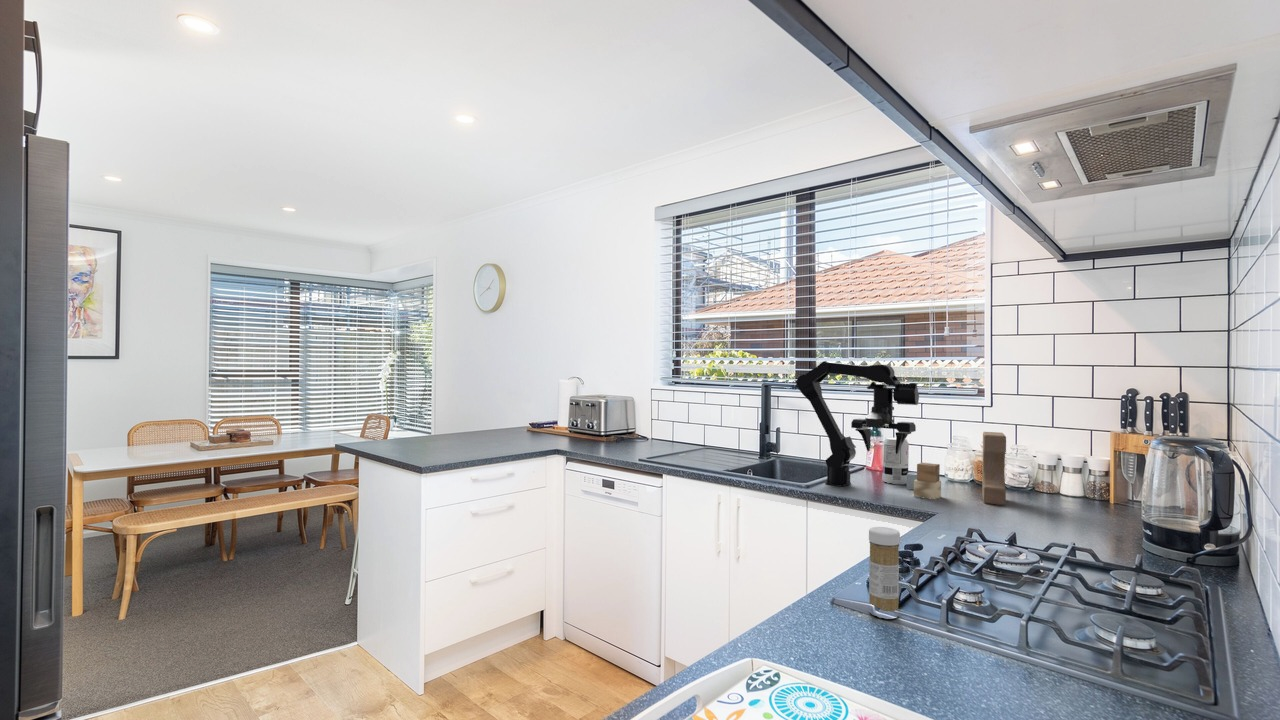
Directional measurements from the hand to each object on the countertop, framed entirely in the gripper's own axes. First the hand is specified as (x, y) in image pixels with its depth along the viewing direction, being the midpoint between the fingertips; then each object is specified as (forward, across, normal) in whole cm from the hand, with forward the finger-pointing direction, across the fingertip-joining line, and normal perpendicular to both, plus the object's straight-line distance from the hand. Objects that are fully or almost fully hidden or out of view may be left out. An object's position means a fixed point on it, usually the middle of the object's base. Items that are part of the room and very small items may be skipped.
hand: (882, 452), depth 198 cm
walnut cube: (+7, +14, 0) cm, 16 cm away
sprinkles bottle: (+12, +41, -100) cm, 109 cm away
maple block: (+12, +14, 0) cm, 18 cm away
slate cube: (+12, +7, +10) cm, 17 cm away
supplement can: (+12, -2, +16) cm, 20 cm away
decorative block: (+12, +30, +8) cm, 33 cm away
